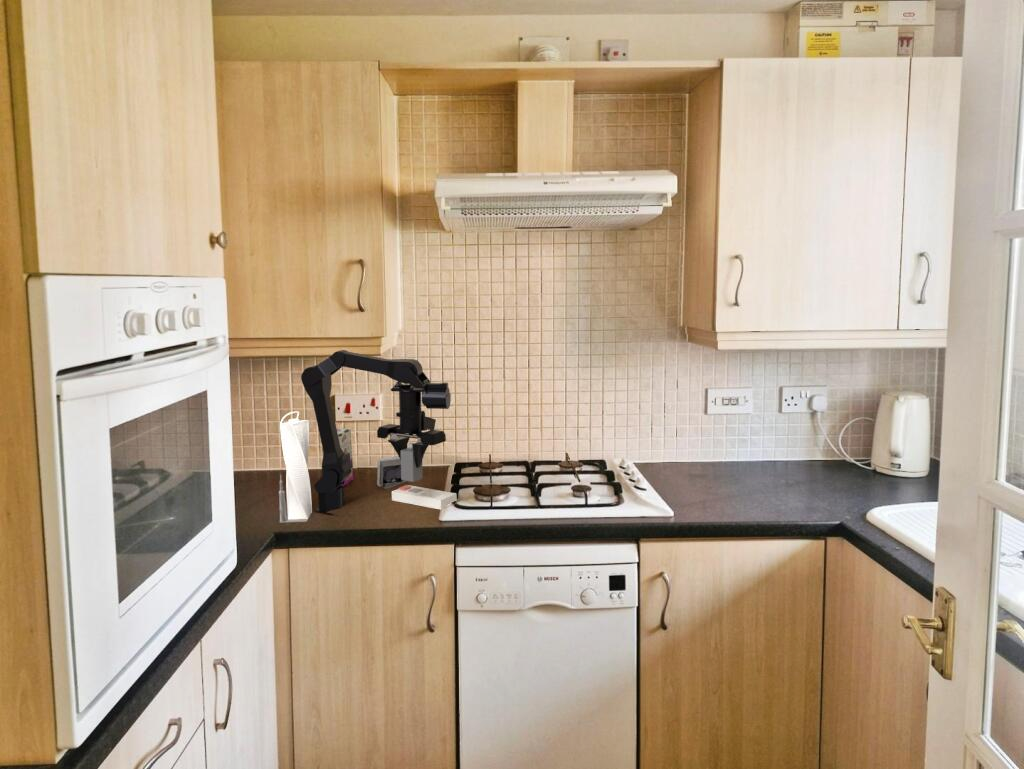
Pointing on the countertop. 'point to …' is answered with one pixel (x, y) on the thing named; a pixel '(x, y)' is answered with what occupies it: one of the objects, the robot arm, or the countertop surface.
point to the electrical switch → (389, 472)
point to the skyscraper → (295, 471)
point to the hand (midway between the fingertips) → (411, 466)
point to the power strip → (423, 496)
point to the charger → (410, 466)
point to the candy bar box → (346, 448)
